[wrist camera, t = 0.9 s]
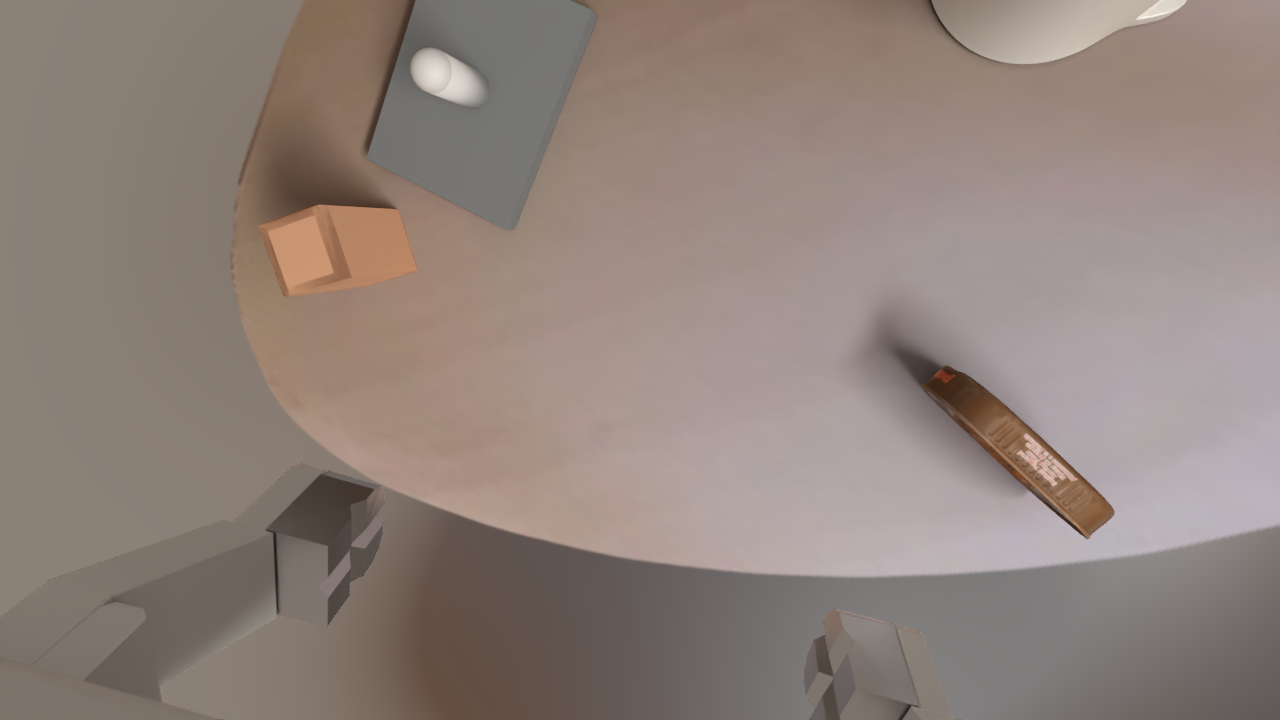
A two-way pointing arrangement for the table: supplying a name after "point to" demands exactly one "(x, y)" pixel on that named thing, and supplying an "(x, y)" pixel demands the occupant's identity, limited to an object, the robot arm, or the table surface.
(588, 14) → the base
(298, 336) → the table surface
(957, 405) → the tin
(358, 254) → the tall lidded tan box
